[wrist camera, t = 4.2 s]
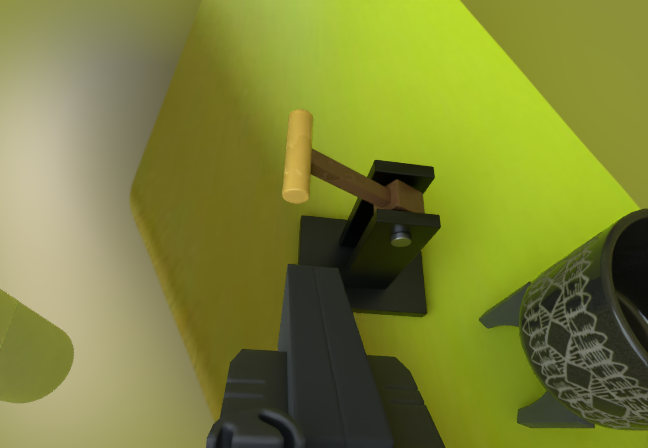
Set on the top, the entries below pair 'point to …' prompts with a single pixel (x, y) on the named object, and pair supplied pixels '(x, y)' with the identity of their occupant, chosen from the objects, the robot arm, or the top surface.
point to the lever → (336, 173)
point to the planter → (587, 332)
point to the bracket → (376, 247)
